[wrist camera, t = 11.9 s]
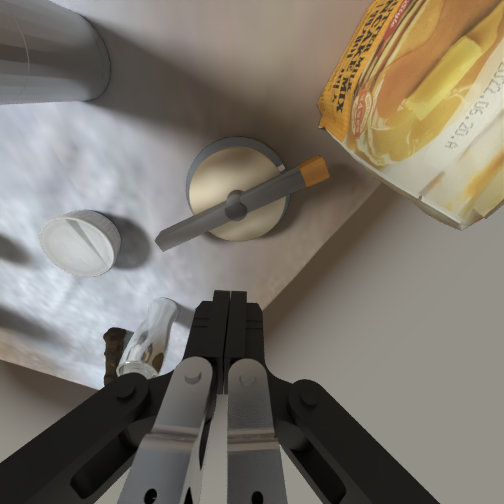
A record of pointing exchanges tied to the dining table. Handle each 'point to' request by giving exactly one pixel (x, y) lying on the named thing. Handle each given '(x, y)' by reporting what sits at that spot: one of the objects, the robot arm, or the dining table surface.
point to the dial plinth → (229, 143)
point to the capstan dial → (239, 195)
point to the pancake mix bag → (426, 103)
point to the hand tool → (113, 352)
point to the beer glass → (150, 341)
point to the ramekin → (81, 243)
